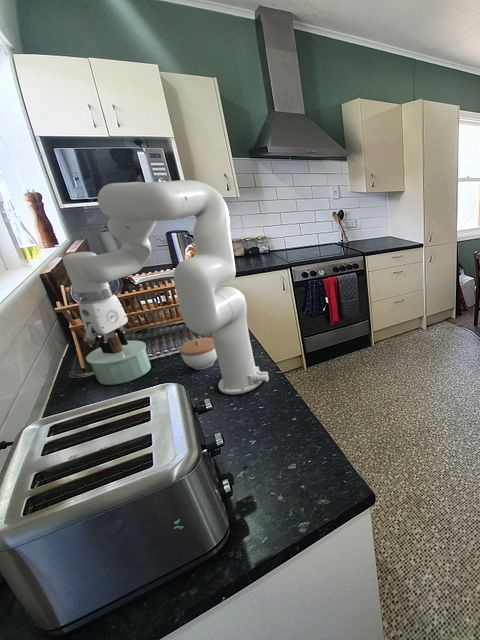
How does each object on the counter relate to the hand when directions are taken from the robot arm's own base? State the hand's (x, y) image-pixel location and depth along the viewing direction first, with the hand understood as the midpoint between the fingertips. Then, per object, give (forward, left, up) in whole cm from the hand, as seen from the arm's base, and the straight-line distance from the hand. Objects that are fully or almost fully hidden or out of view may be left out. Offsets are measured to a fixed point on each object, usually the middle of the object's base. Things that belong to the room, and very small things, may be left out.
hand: (115, 348), depth 109 cm
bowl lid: (0, 0, -2) cm, 2 cm away
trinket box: (-22, -6, -9) cm, 25 cm away
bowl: (0, 0, -9) cm, 9 cm away
